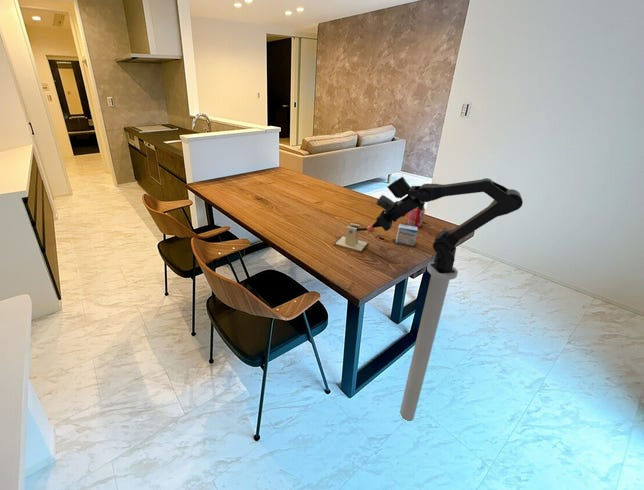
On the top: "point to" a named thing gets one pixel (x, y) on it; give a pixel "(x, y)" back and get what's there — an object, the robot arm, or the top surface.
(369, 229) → the switch lever
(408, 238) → the medicine box
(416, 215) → the soda can
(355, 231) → the switch bracket
